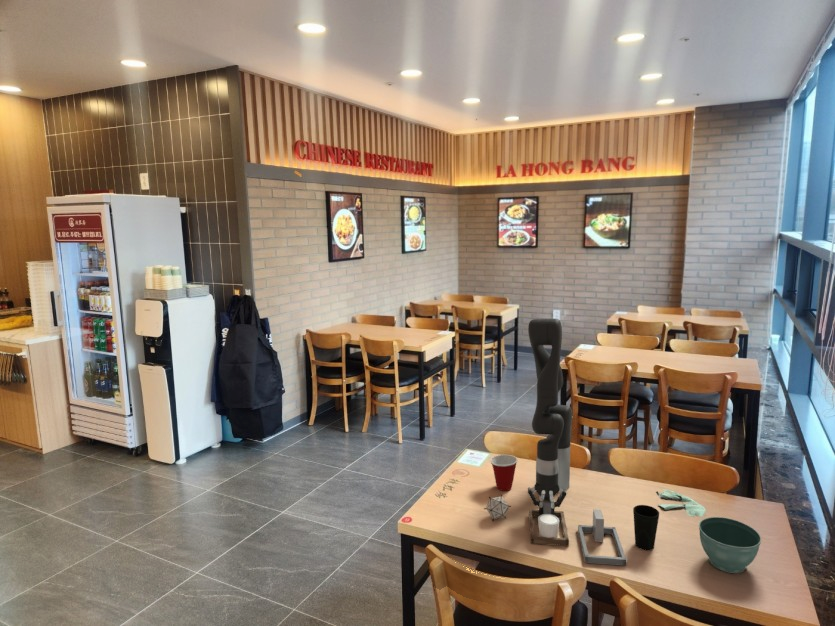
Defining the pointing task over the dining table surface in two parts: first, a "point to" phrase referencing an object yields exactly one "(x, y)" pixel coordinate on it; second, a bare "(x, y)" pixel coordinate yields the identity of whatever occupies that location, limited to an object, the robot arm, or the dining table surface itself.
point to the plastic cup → (504, 471)
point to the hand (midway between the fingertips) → (546, 516)
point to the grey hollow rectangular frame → (598, 533)
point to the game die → (497, 507)
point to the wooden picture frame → (547, 540)
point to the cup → (645, 526)
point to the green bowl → (729, 543)
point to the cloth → (690, 509)
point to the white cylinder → (548, 525)
